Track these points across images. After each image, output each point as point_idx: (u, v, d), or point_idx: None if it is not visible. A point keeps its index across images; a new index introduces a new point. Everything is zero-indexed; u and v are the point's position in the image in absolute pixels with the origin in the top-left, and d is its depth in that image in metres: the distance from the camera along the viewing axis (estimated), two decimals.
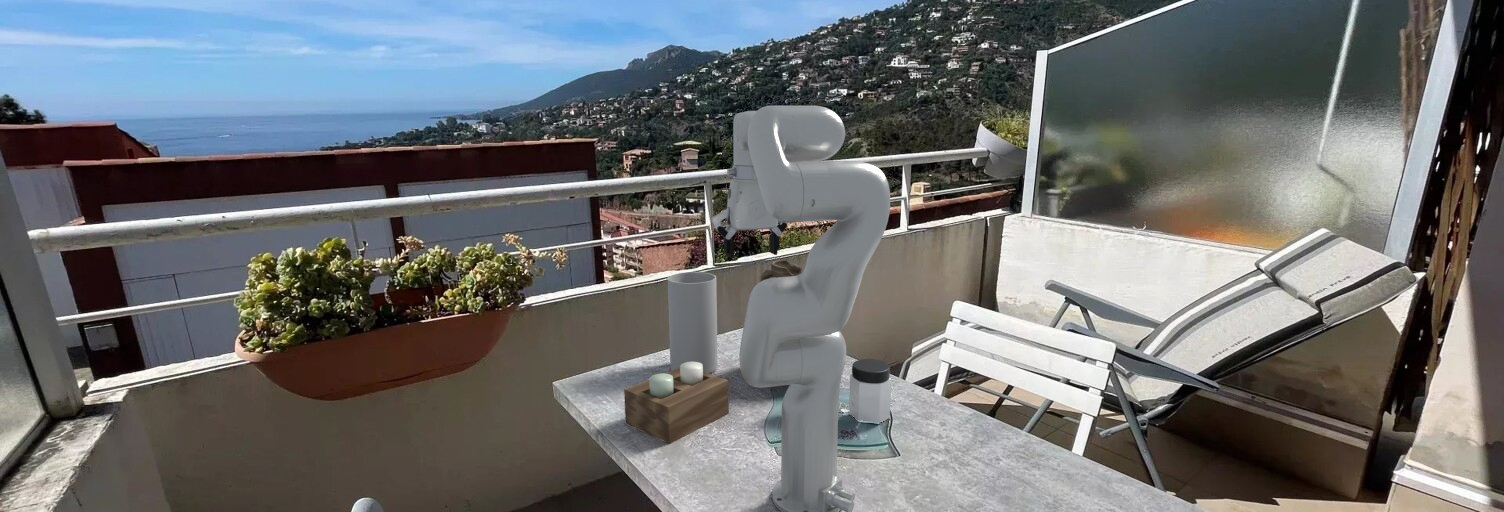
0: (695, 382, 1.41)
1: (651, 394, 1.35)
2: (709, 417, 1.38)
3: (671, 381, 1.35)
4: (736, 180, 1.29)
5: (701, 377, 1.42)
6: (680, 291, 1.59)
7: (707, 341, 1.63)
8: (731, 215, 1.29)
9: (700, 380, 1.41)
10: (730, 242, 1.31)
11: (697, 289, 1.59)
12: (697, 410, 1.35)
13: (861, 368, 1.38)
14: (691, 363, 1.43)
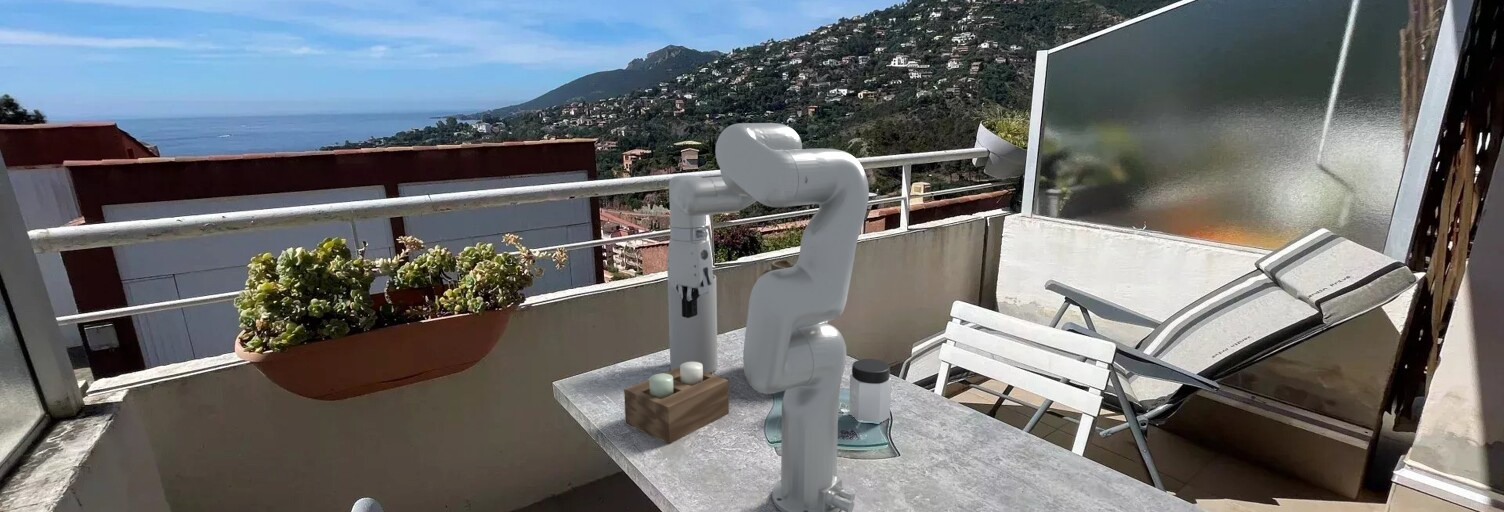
0: (695, 382, 1.41)
1: (651, 394, 1.35)
2: (709, 417, 1.38)
3: (671, 381, 1.35)
4: (703, 240, 1.35)
5: (701, 377, 1.42)
6: None
7: (707, 341, 1.63)
8: (711, 273, 1.36)
9: (700, 380, 1.41)
10: None
11: None
12: (697, 410, 1.35)
13: (861, 368, 1.38)
14: (691, 363, 1.43)
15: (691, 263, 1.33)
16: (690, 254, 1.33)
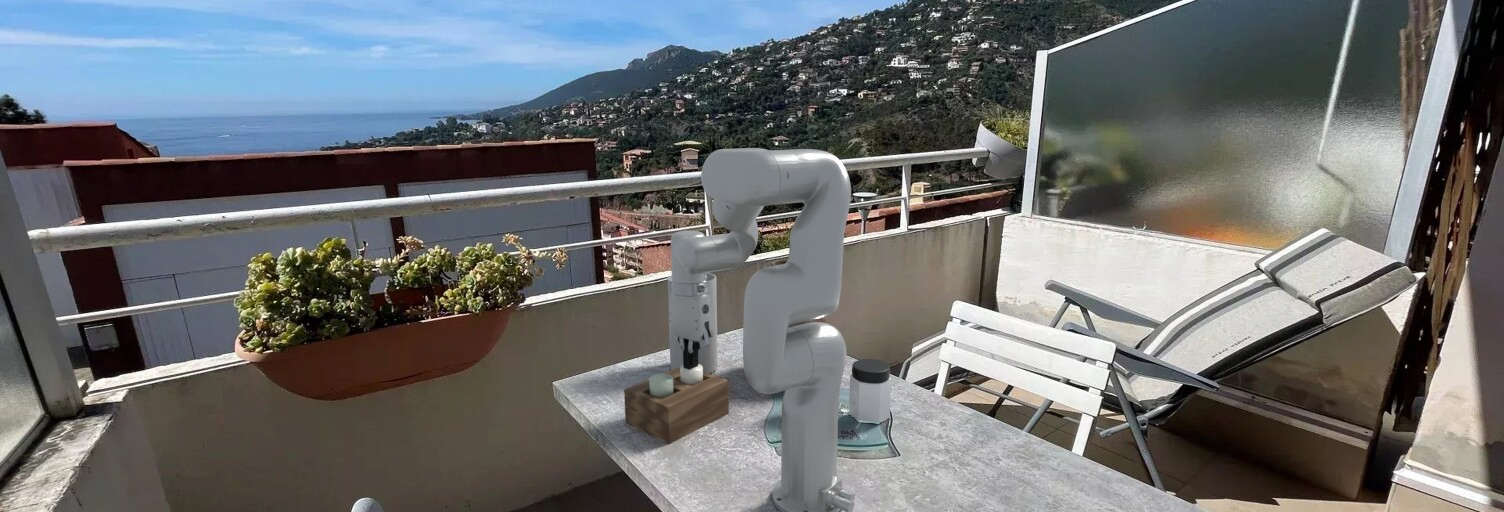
0: None
1: (651, 394, 1.35)
2: (709, 417, 1.38)
3: (671, 381, 1.35)
4: (704, 295, 1.37)
5: (701, 379, 1.42)
6: None
7: None
8: (712, 326, 1.38)
9: None
10: None
11: None
12: (697, 410, 1.35)
13: (861, 368, 1.38)
14: None
15: (693, 317, 1.36)
16: (692, 309, 1.36)
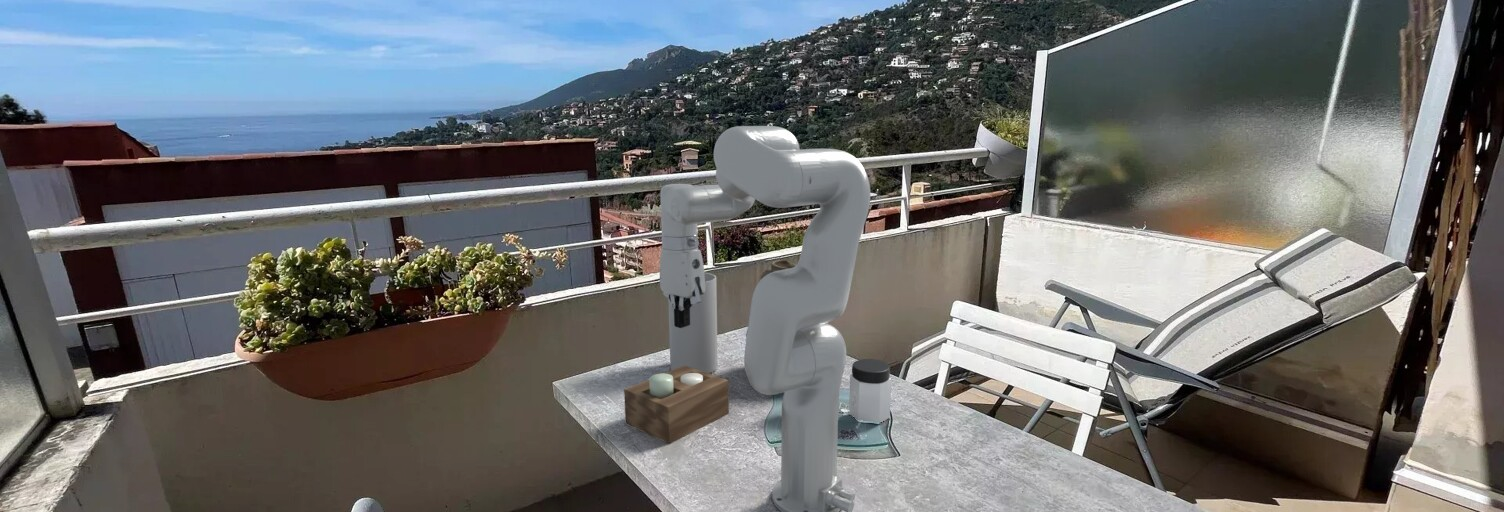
0: None
1: (651, 394, 1.35)
2: (709, 417, 1.38)
3: (671, 381, 1.35)
4: (694, 249, 1.33)
5: None
6: None
7: (707, 341, 1.63)
8: (703, 282, 1.34)
9: None
10: (688, 310, 1.38)
11: None
12: (697, 410, 1.35)
13: (861, 368, 1.38)
14: (692, 375, 1.44)
15: (683, 272, 1.32)
16: (682, 263, 1.32)
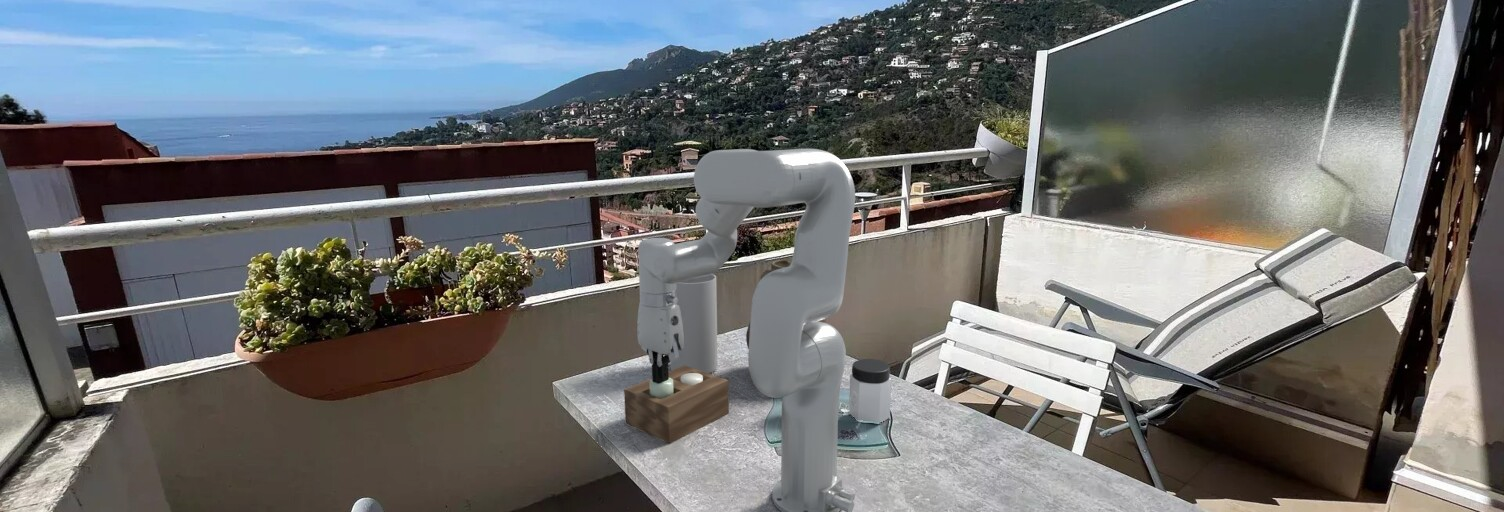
0: None
1: None
2: (709, 417, 1.38)
3: (671, 384, 1.35)
4: (673, 305, 1.30)
5: None
6: (680, 291, 1.59)
7: (707, 341, 1.63)
8: (682, 338, 1.32)
9: None
10: None
11: (697, 289, 1.59)
12: (697, 410, 1.35)
13: (861, 368, 1.38)
14: (692, 375, 1.44)
15: (661, 329, 1.29)
16: (660, 320, 1.29)
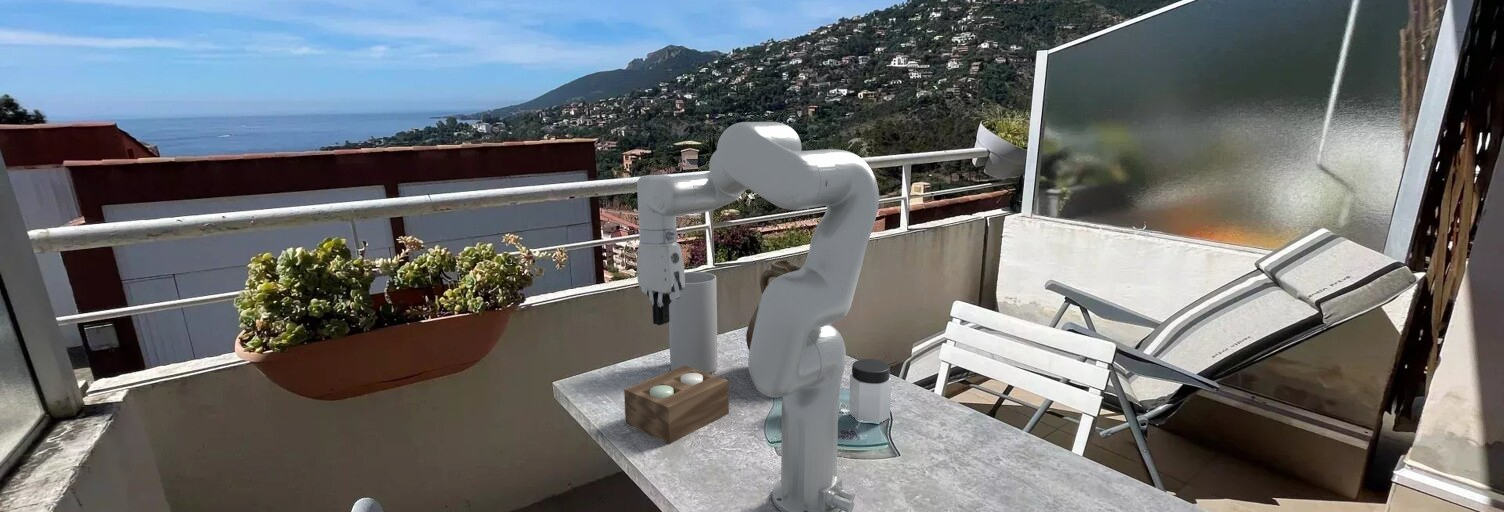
0: None
1: None
2: (709, 417, 1.38)
3: (671, 393, 1.35)
4: (673, 243, 1.28)
5: None
6: (680, 291, 1.59)
7: (707, 341, 1.63)
8: (682, 277, 1.29)
9: None
10: None
11: (697, 289, 1.59)
12: (697, 410, 1.35)
13: (861, 368, 1.38)
14: (692, 375, 1.44)
15: (661, 267, 1.27)
16: (660, 258, 1.26)
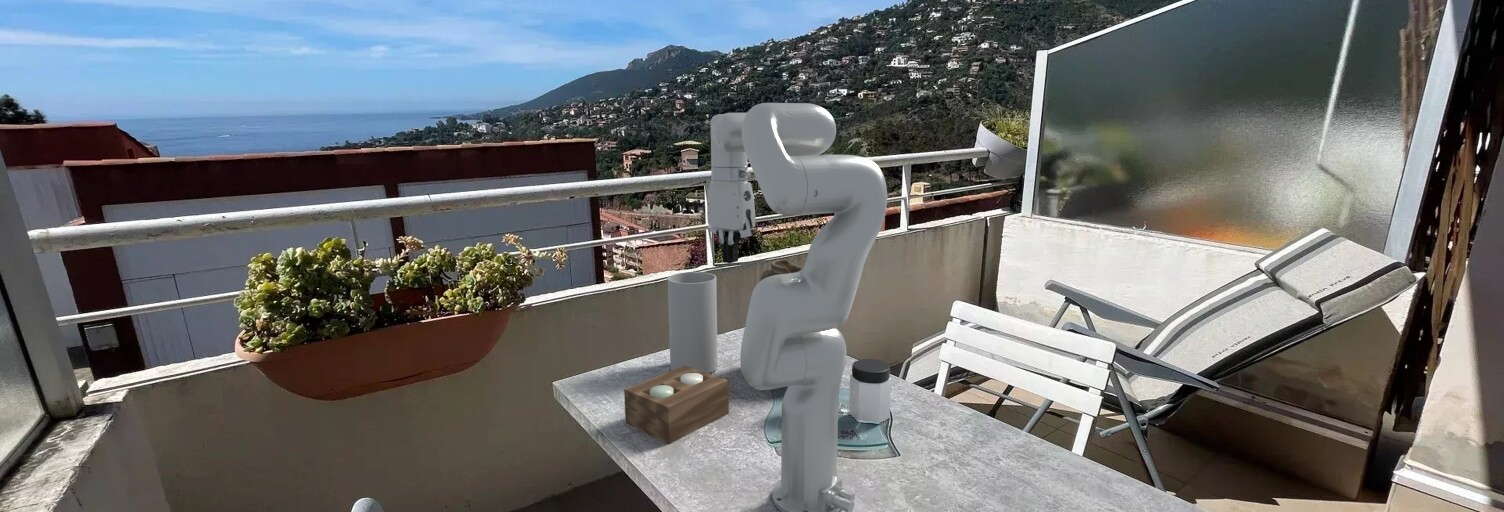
0: None
1: None
2: (709, 417, 1.38)
3: (671, 393, 1.35)
4: (745, 181, 1.30)
5: None
6: (680, 291, 1.59)
7: (707, 341, 1.63)
8: (753, 215, 1.32)
9: None
10: None
11: (697, 289, 1.59)
12: (697, 410, 1.35)
13: (861, 368, 1.38)
14: (692, 375, 1.44)
15: (734, 204, 1.29)
16: (733, 195, 1.29)
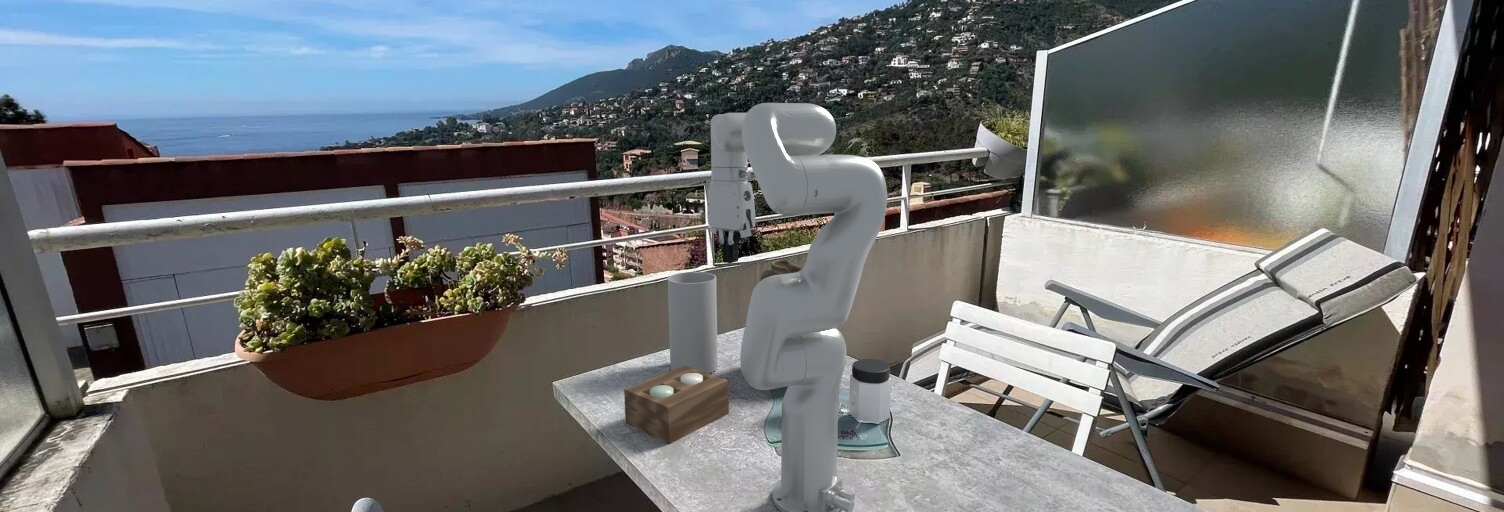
0: None
1: None
2: (709, 417, 1.38)
3: (671, 393, 1.35)
4: (745, 181, 1.30)
5: None
6: (680, 291, 1.59)
7: (707, 341, 1.63)
8: (753, 215, 1.32)
9: None
10: None
11: (697, 289, 1.59)
12: (697, 410, 1.35)
13: (861, 368, 1.38)
14: (692, 375, 1.44)
15: (734, 204, 1.29)
16: (733, 195, 1.29)
